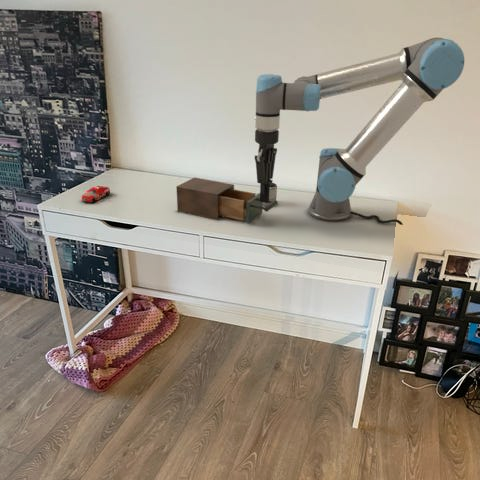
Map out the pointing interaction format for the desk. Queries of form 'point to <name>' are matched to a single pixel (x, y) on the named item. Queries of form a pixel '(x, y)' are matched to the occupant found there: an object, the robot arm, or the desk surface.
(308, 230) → the desk surface
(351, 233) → the desk surface
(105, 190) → the race car
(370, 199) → the desk surface
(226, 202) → the drawer
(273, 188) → the camera lens
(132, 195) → the desk surface
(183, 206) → the cabinet
